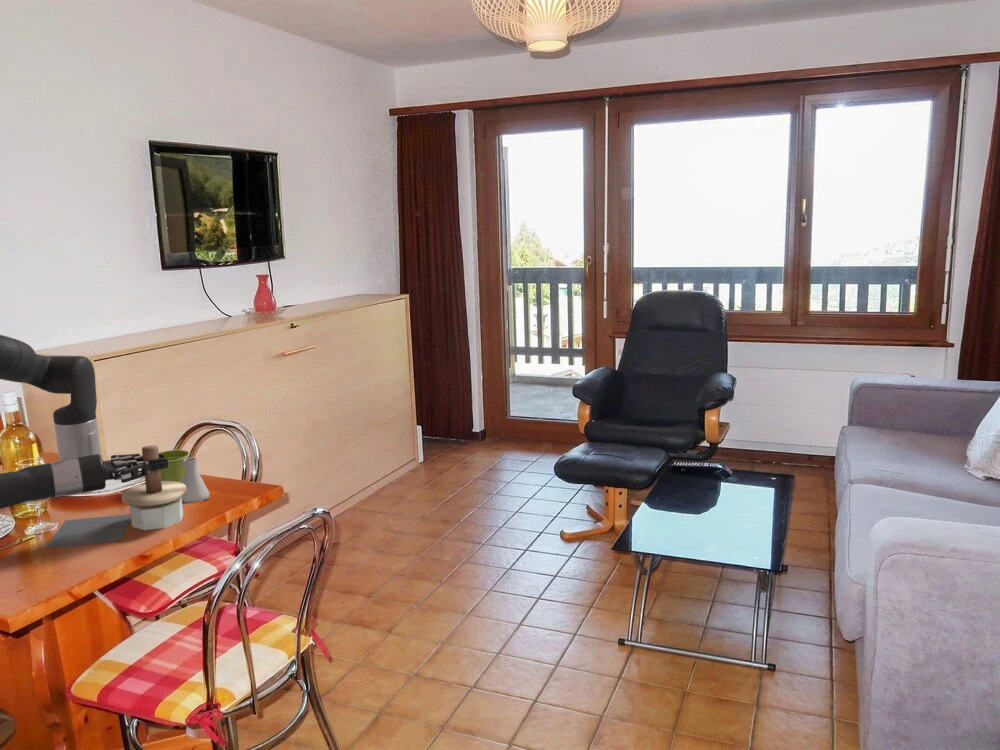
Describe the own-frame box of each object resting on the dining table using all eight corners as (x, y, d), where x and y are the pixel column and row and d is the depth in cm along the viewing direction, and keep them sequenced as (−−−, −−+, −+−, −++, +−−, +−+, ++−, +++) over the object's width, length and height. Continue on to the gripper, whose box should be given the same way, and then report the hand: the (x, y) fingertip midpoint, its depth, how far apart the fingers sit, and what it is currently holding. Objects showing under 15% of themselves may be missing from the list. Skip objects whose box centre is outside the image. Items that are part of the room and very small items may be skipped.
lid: (128, 488, 176) (123, 441, 174) (190, 482, 179) (185, 437, 177) (116, 509, 164) (110, 459, 162) (182, 503, 167) (177, 454, 165)
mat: (65, 522, 173) (65, 520, 173) (133, 515, 177) (133, 513, 177) (45, 550, 159) (45, 548, 159) (119, 542, 163) (119, 540, 162)
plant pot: (143, 492, 192) (139, 458, 190) (174, 479, 200) (171, 447, 198) (170, 497, 188) (167, 463, 186) (201, 485, 196) (198, 452, 194)
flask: (186, 493, 191) (182, 454, 189) (215, 493, 190) (211, 454, 188) (172, 504, 184) (167, 463, 182) (201, 505, 183) (197, 464, 181)
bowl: (138, 516, 177) (135, 495, 176) (185, 511, 179) (183, 490, 178) (129, 533, 167) (126, 511, 166) (179, 528, 170) (176, 506, 168)
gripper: (80, 467, 156) (171, 452, 165) (71, 450, 167) (157, 436, 177) (84, 502, 157) (174, 485, 167) (75, 483, 169) (160, 468, 178)
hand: (165, 460), depth 172 cm, fingers closed on lid, 3 cm apart
